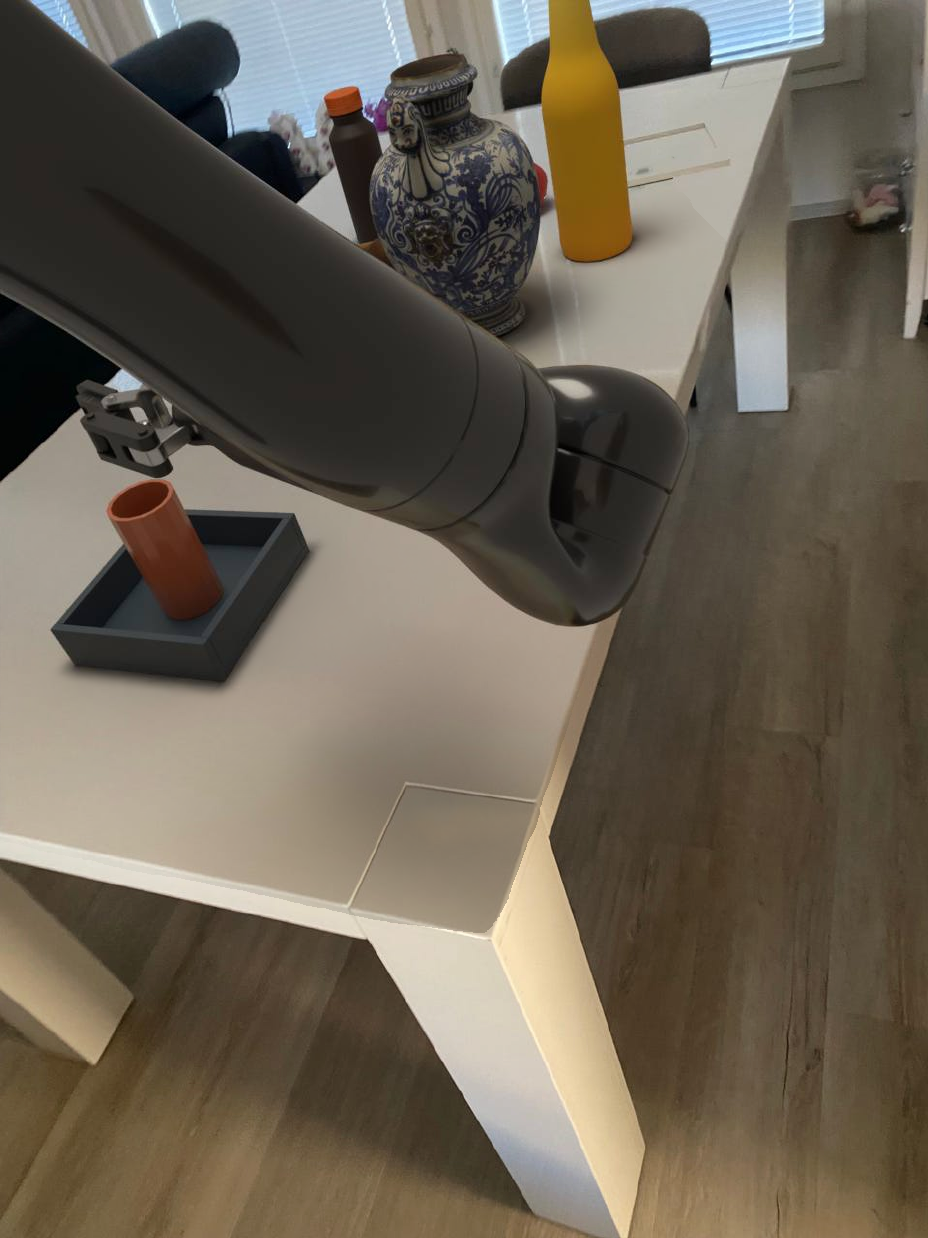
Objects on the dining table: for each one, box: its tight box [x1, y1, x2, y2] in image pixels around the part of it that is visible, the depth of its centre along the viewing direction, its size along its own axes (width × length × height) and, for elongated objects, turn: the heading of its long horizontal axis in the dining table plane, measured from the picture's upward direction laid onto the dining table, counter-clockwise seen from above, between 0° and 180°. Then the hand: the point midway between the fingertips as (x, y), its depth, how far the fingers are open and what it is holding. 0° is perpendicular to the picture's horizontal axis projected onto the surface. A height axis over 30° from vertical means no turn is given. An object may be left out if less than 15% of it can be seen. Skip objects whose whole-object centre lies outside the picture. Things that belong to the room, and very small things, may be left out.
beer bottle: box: [540, 0, 633, 263], centre depth 114 cm, size 9×9×29 cm
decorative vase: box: [369, 46, 542, 338], centre depth 105 cm, size 21×19×28 cm
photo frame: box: [624, 123, 731, 188], centre depth 141 cm, size 15×1×18 cm
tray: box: [49, 508, 310, 682], centre depth 84 cm, size 17×16×4 cm
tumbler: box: [105, 478, 223, 620], centre depth 81 cm, size 6×6×11 cm
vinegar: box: [323, 85, 384, 245], centre depth 136 cm, size 7×7×20 cm
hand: (144, 363), depth 58 cm, fingers open, 8 cm apart
